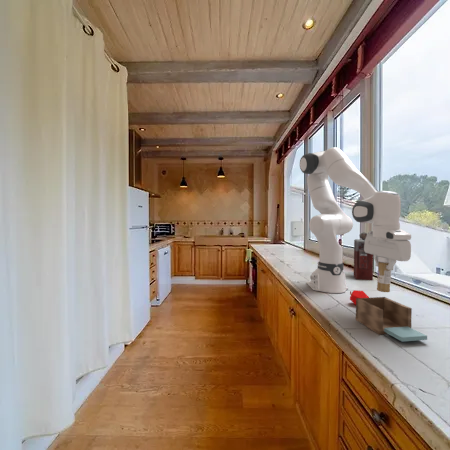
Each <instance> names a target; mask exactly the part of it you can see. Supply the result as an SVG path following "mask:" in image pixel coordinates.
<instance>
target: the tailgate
mask: <svg viewBox="0 0 450 450" xmlns="http://www.w3.org/2000/svg"><path fill="white" fill-rule="evenodd" d="M384 332H386V333H387V334H386V335H390V336H391V337H393V338H395V339H396V340H398V341H400V342H415V341H427V340H428V335H427V334H424V333H422V332H421V331H419V330H416V329H414V328H412V327H411V328H410V327H408V326H407V327H392V328H384Z"/></svg>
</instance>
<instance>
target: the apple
mask: <svg viewBox="0 0 450 450" xmlns="http://www.w3.org/2000/svg"><path fill="white" fill-rule="evenodd" d="M349 295H350V296H349V300H350V301H351V303H353V304H354V305H355V306H356V298H370V297H369V295H368V294H367V293H365V291H364V290H356V289H355V290H354V289H353V290H352V291H350V292H349Z"/></svg>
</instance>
